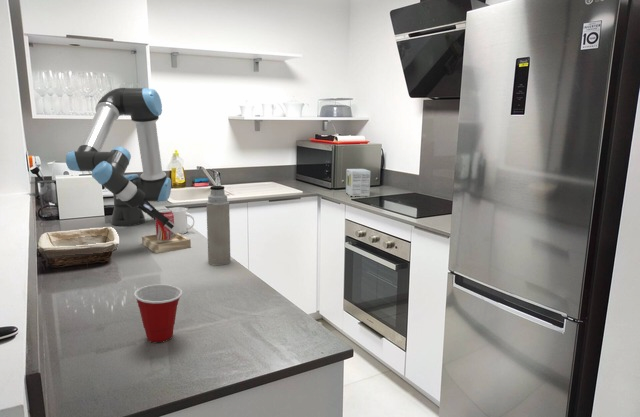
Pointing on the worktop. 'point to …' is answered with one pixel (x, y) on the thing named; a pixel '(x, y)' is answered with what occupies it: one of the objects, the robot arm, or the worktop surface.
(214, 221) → the thermos bottle
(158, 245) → the tray
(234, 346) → the worktop surface
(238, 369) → the worktop surface
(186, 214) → the mug
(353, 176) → the supplement box
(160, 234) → the soda can
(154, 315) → the plastic cup
